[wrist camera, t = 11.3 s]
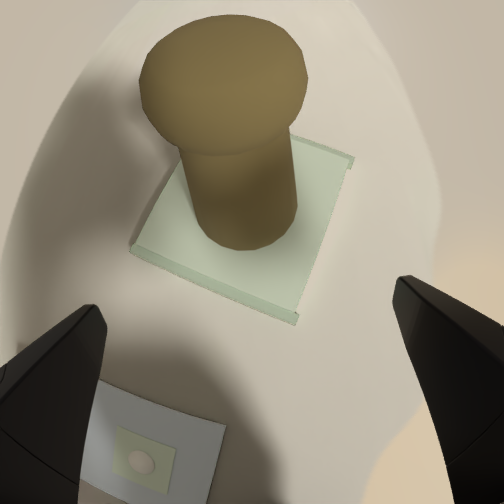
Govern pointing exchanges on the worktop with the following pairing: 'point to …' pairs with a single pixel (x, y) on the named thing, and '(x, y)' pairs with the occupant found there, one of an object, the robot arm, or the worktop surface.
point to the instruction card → (148, 450)
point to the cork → (230, 122)
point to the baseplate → (251, 261)
